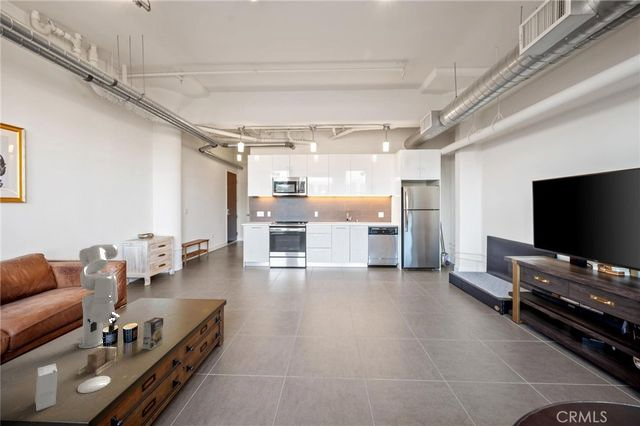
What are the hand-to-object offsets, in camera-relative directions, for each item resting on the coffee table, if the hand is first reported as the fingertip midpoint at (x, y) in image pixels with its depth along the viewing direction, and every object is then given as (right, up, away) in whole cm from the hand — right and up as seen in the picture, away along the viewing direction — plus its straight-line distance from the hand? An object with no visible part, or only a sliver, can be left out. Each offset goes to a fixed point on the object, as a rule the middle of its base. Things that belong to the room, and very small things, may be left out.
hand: (102, 331), depth 142 cm
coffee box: (+12, -20, +24) cm, 33 cm away
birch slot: (-2, -19, -1) cm, 19 cm away
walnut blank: (-2, -19, -2) cm, 19 cm away
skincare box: (-2, -19, -27) cm, 33 cm away
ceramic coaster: (+8, -19, -14) cm, 25 cm away
